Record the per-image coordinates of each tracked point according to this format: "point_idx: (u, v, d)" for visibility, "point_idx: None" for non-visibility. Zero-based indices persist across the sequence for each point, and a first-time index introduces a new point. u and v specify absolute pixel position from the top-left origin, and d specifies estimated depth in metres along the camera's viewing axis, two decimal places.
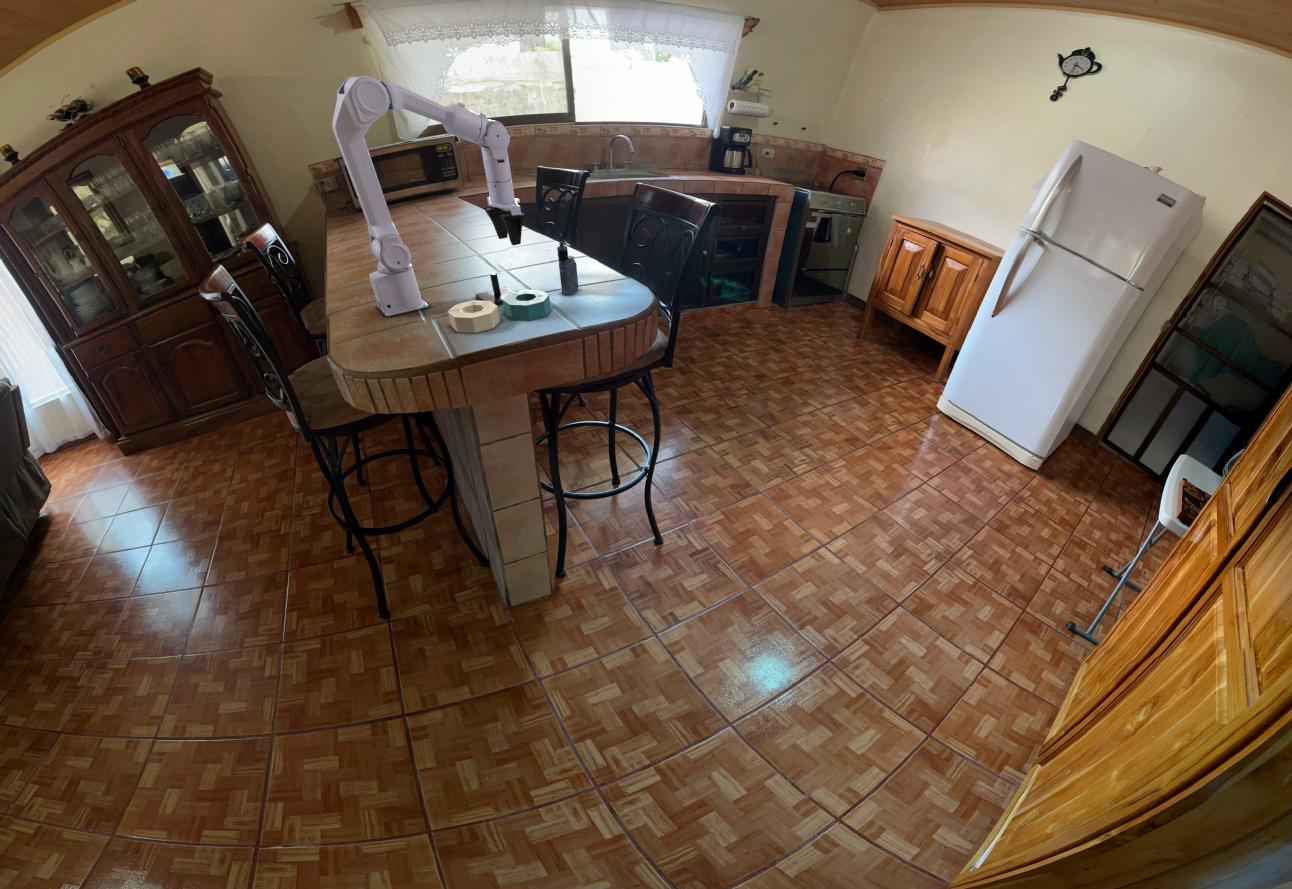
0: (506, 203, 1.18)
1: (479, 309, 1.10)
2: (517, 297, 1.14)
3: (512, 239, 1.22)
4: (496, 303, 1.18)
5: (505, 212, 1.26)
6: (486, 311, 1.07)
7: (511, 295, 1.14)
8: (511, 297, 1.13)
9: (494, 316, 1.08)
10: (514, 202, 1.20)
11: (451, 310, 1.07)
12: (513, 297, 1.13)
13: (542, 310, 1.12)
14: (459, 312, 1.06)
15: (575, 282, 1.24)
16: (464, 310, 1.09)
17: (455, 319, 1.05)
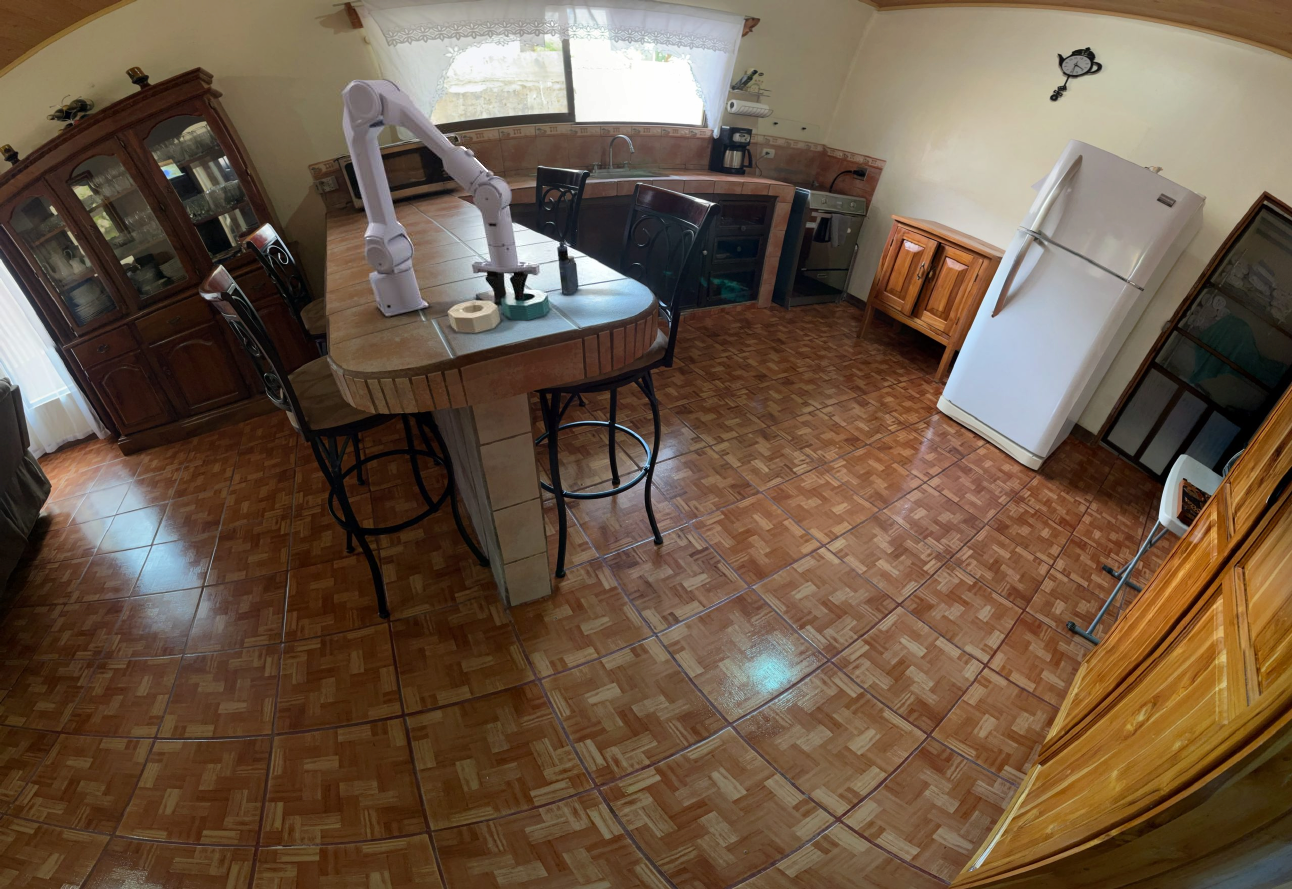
0: (517, 265, 1.09)
1: (479, 309, 1.10)
2: None
3: (519, 300, 1.13)
4: (496, 303, 1.18)
5: (503, 276, 1.13)
6: (486, 311, 1.07)
7: (509, 295, 1.14)
8: (510, 297, 1.13)
9: (494, 316, 1.08)
10: (519, 262, 1.10)
11: (451, 310, 1.07)
12: (512, 297, 1.13)
13: (541, 310, 1.12)
14: (459, 312, 1.06)
15: (575, 282, 1.24)
16: (464, 310, 1.09)
17: (455, 319, 1.05)
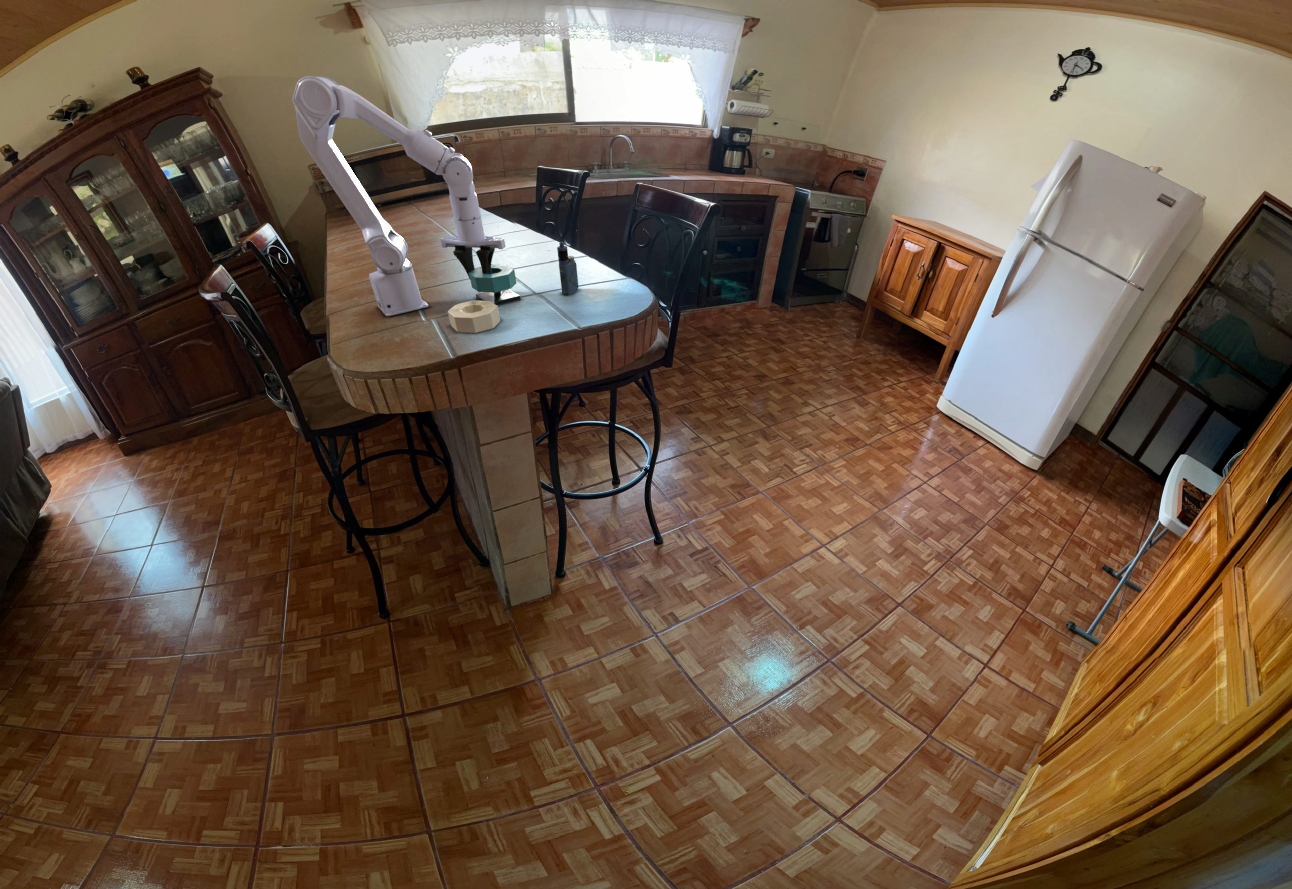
0: (483, 239, 1.13)
1: (479, 309, 1.10)
2: None
3: None
4: (496, 303, 1.18)
5: (471, 251, 1.18)
6: (486, 311, 1.07)
7: (478, 269, 1.19)
8: (477, 271, 1.18)
9: (494, 316, 1.08)
10: (485, 237, 1.15)
11: (451, 310, 1.07)
12: (479, 271, 1.18)
13: (507, 283, 1.17)
14: (459, 312, 1.06)
15: (575, 282, 1.24)
16: (464, 310, 1.09)
17: (455, 319, 1.05)
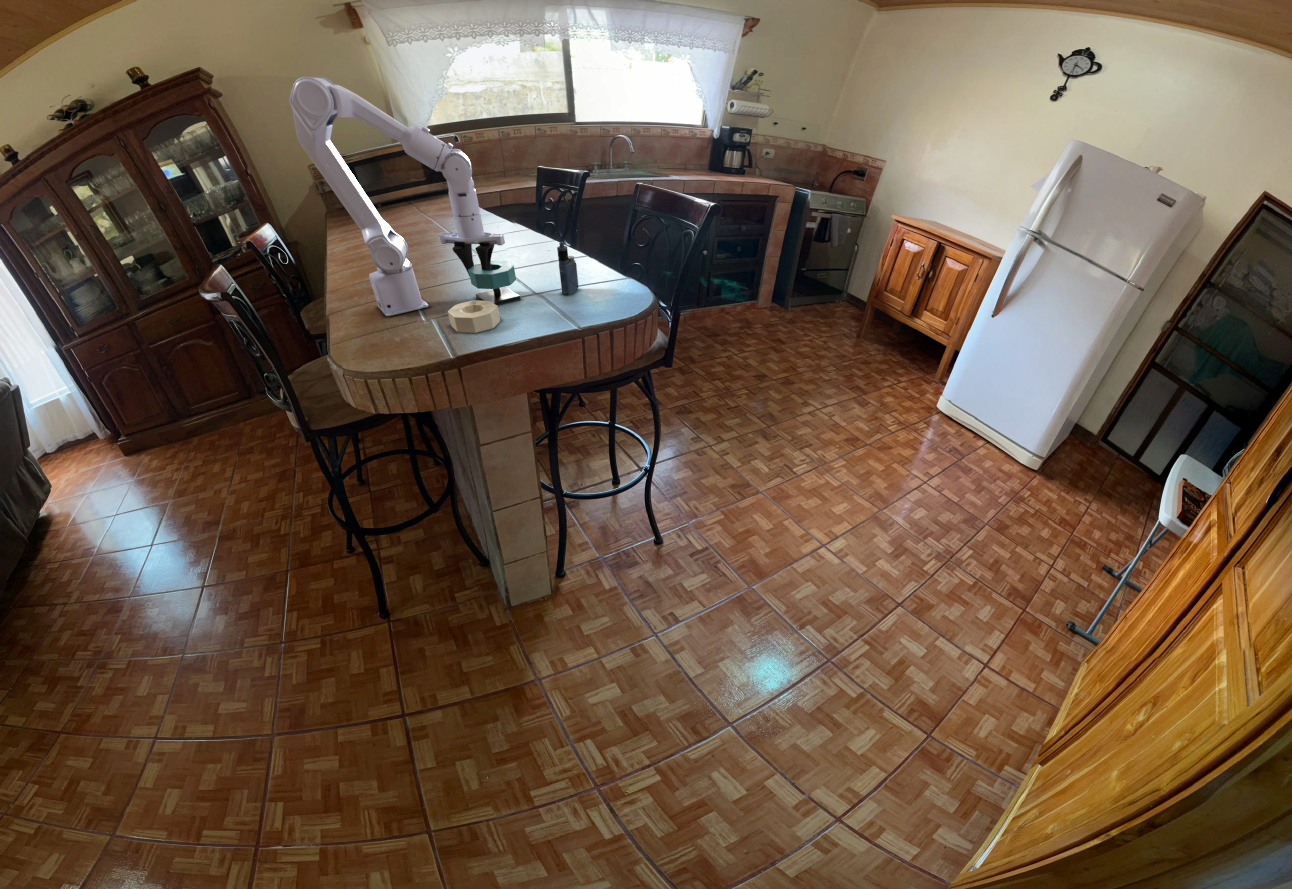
0: (483, 235, 1.13)
1: (479, 309, 1.10)
2: None
3: None
4: (496, 303, 1.18)
5: (470, 247, 1.17)
6: (486, 311, 1.07)
7: (477, 265, 1.19)
8: (477, 267, 1.18)
9: (494, 316, 1.08)
10: (485, 233, 1.15)
11: (451, 310, 1.07)
12: (479, 267, 1.18)
13: (506, 279, 1.16)
14: (459, 312, 1.06)
15: (575, 282, 1.24)
16: (464, 310, 1.09)
17: (455, 319, 1.05)
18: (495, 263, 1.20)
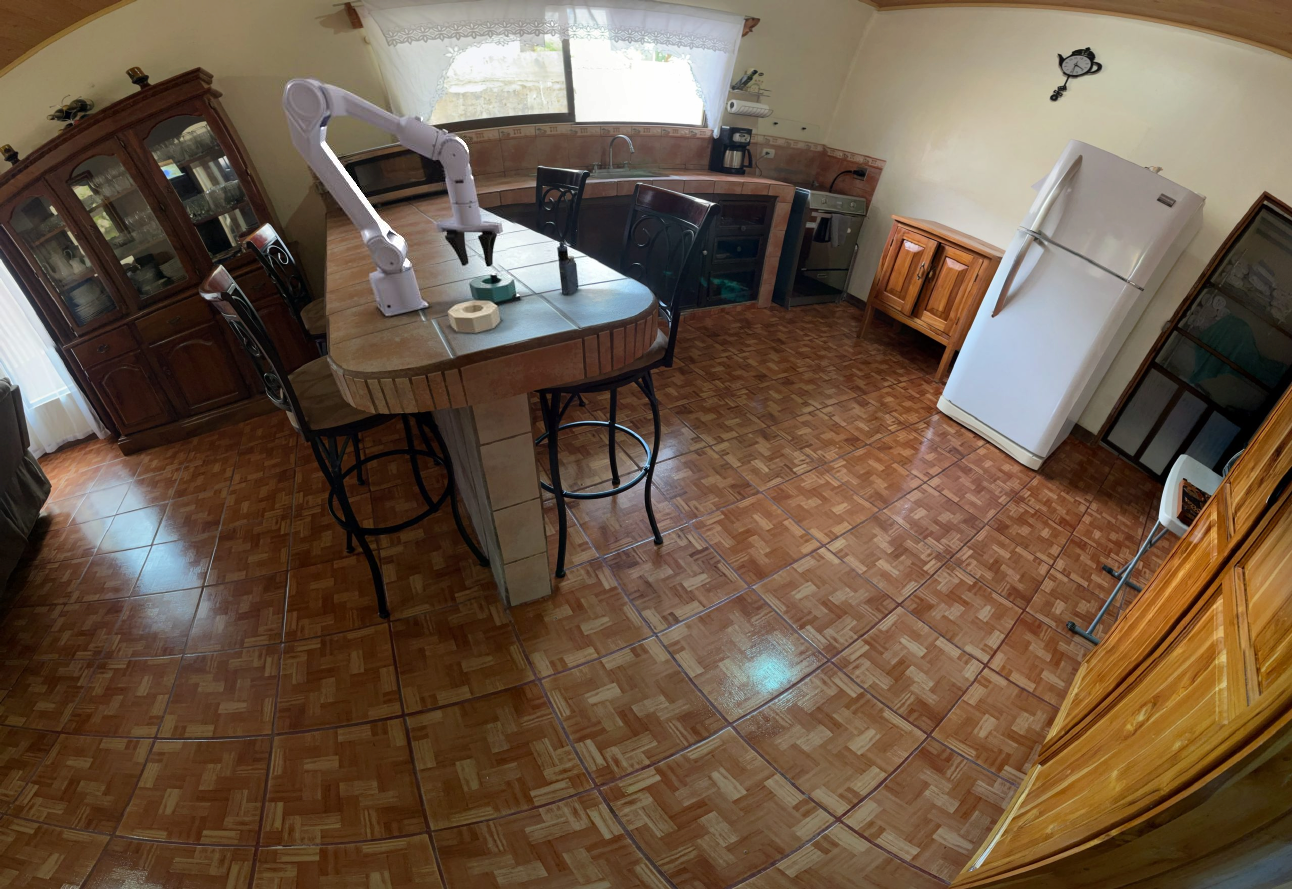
0: (480, 223, 1.11)
1: (479, 309, 1.10)
2: (483, 281, 1.20)
3: (488, 260, 1.16)
4: (496, 303, 1.18)
5: (463, 236, 1.16)
6: (486, 311, 1.07)
7: (478, 279, 1.21)
8: (478, 281, 1.19)
9: (494, 316, 1.08)
10: (482, 222, 1.13)
11: (451, 310, 1.07)
12: (479, 281, 1.19)
13: (506, 293, 1.18)
14: (459, 312, 1.06)
15: (575, 282, 1.24)
16: (464, 310, 1.09)
17: (455, 319, 1.05)
18: None
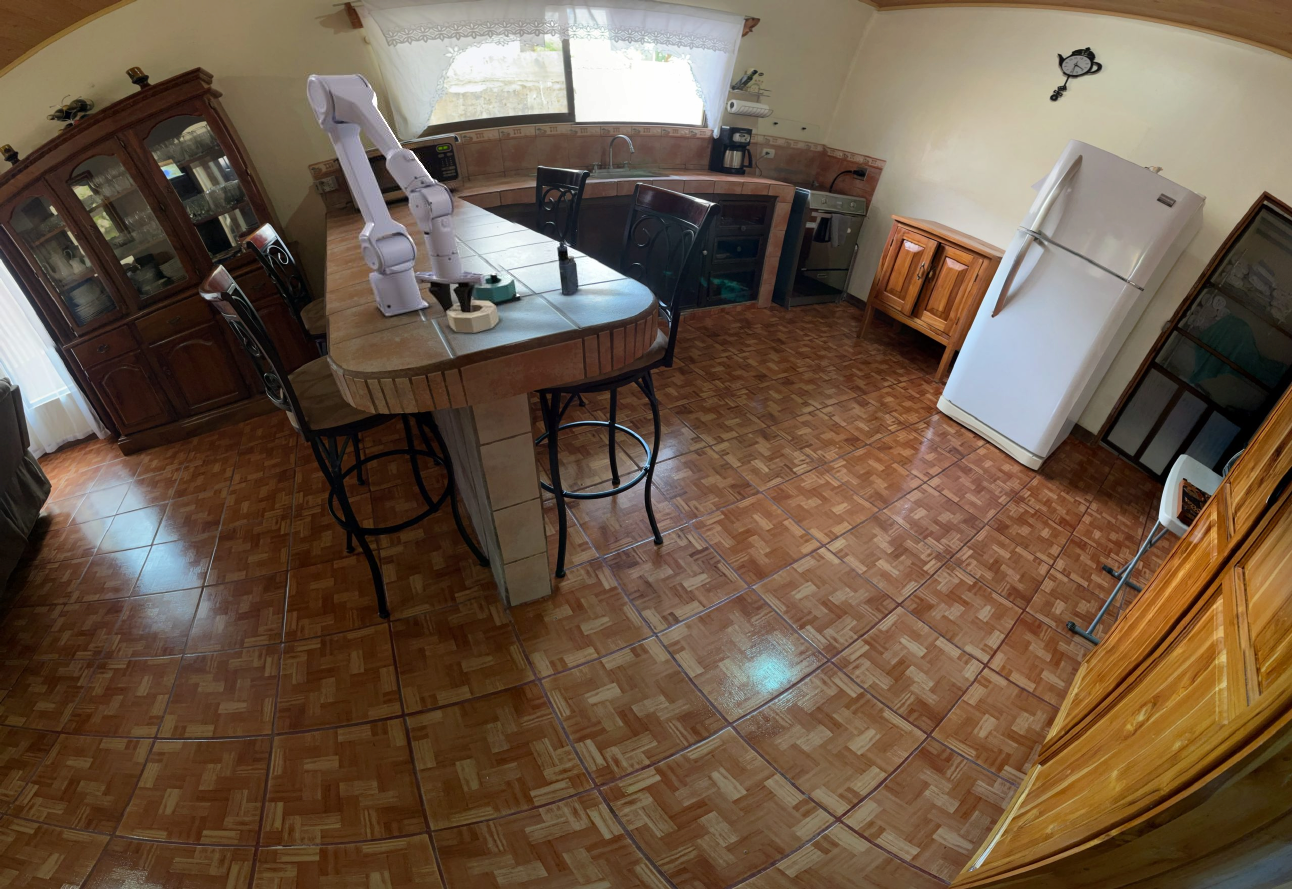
0: (461, 275, 1.04)
1: (478, 309, 1.10)
2: None
3: (466, 312, 1.08)
4: (496, 303, 1.18)
5: (448, 287, 1.08)
6: (485, 311, 1.07)
7: None
8: None
9: (493, 316, 1.08)
10: (464, 272, 1.05)
11: (450, 310, 1.07)
12: None
13: (506, 293, 1.18)
14: (458, 312, 1.07)
15: (575, 282, 1.24)
16: None
17: (454, 319, 1.05)
18: None
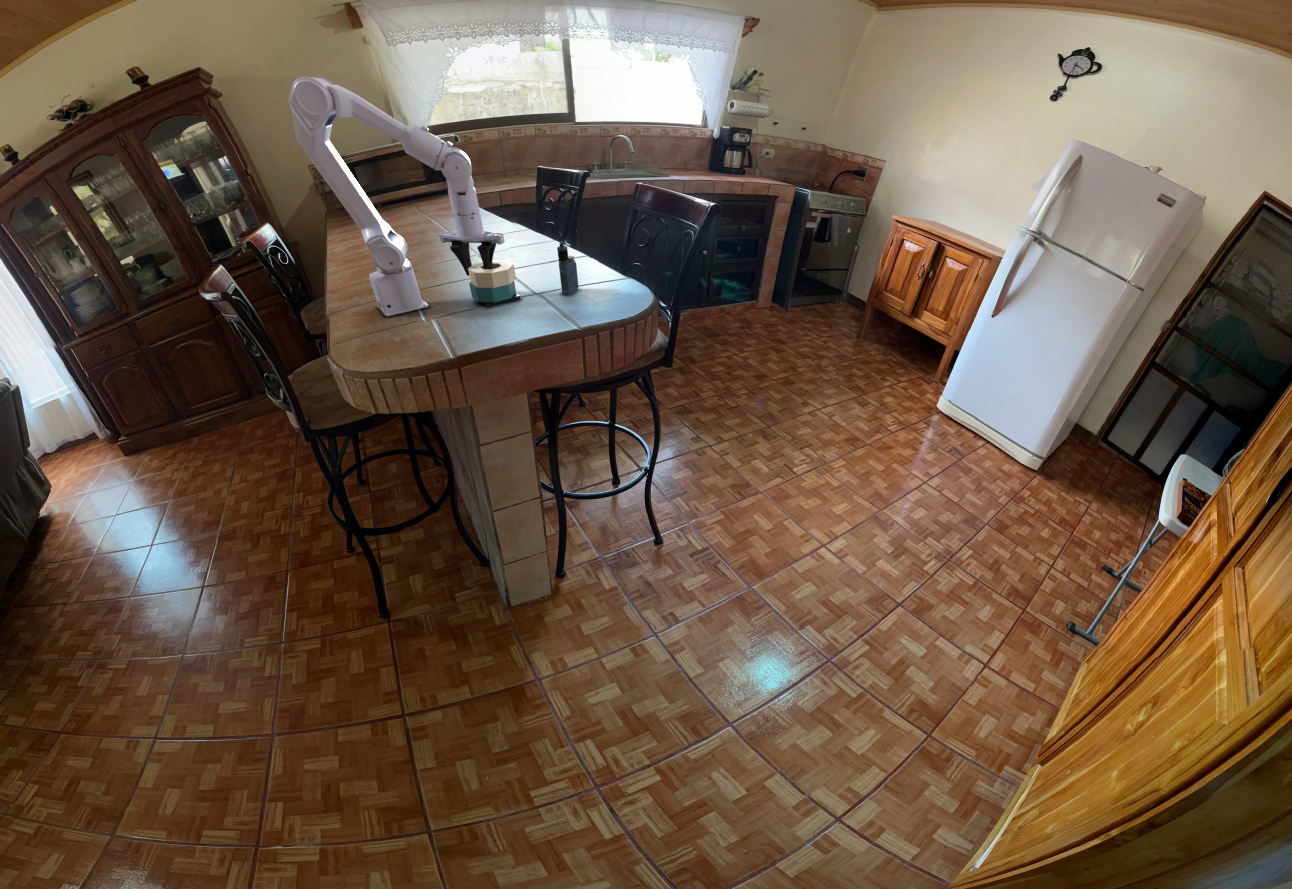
0: (482, 234, 1.13)
1: (496, 267, 1.20)
2: None
3: None
4: (496, 303, 1.18)
5: (467, 246, 1.17)
6: (503, 268, 1.16)
7: None
8: None
9: (511, 273, 1.17)
10: (484, 232, 1.15)
11: (471, 267, 1.17)
12: None
13: (506, 293, 1.18)
14: (479, 269, 1.16)
15: (575, 282, 1.24)
16: (482, 268, 1.18)
17: (475, 274, 1.14)
18: None
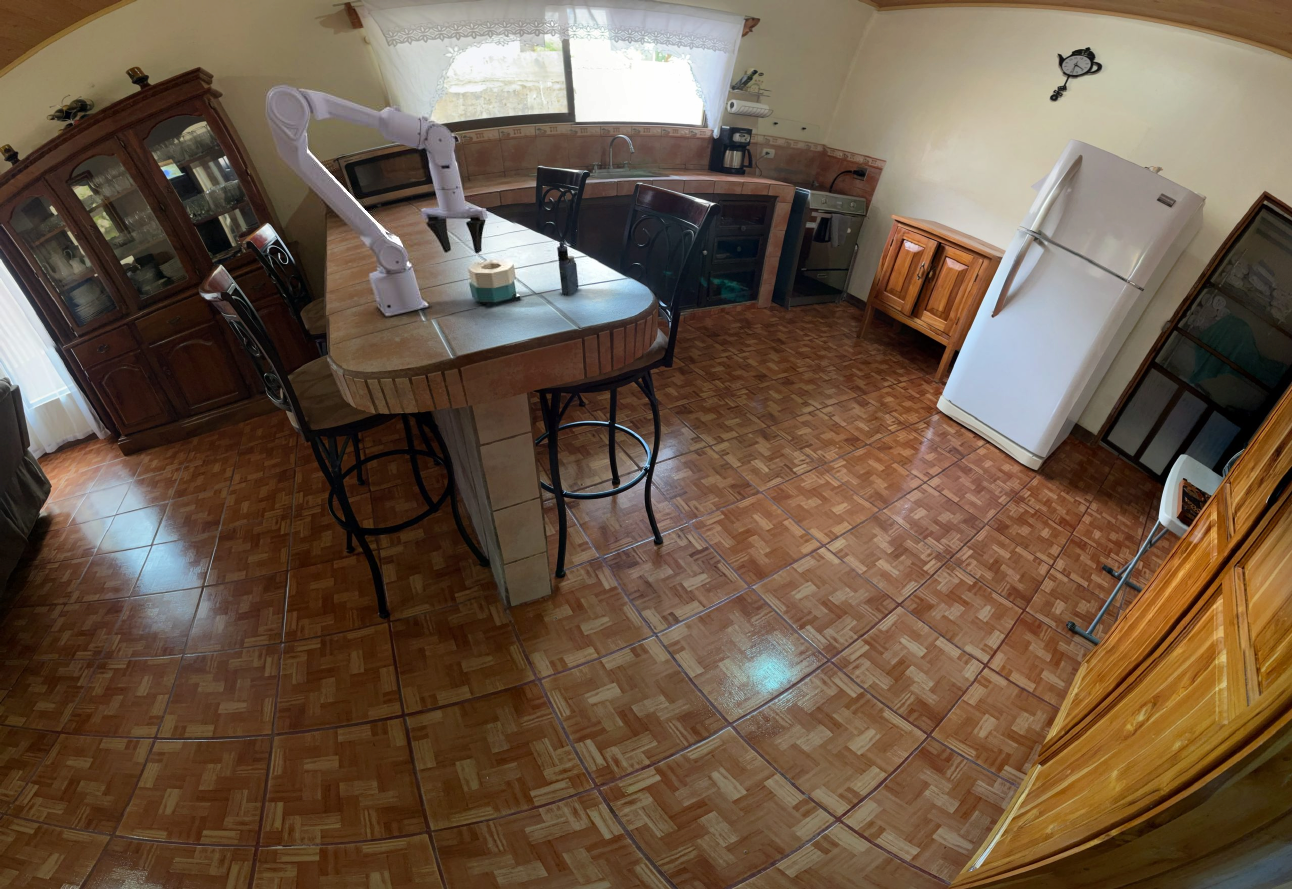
0: (465, 209, 1.12)
1: (496, 267, 1.20)
2: None
3: (477, 246, 1.16)
4: (496, 303, 1.18)
5: (445, 223, 1.16)
6: (503, 268, 1.16)
7: None
8: None
9: (511, 273, 1.17)
10: (467, 208, 1.14)
11: (471, 267, 1.17)
12: None
13: (506, 293, 1.18)
14: (479, 269, 1.16)
15: (575, 282, 1.24)
16: (482, 268, 1.18)
17: (475, 274, 1.14)
18: None
